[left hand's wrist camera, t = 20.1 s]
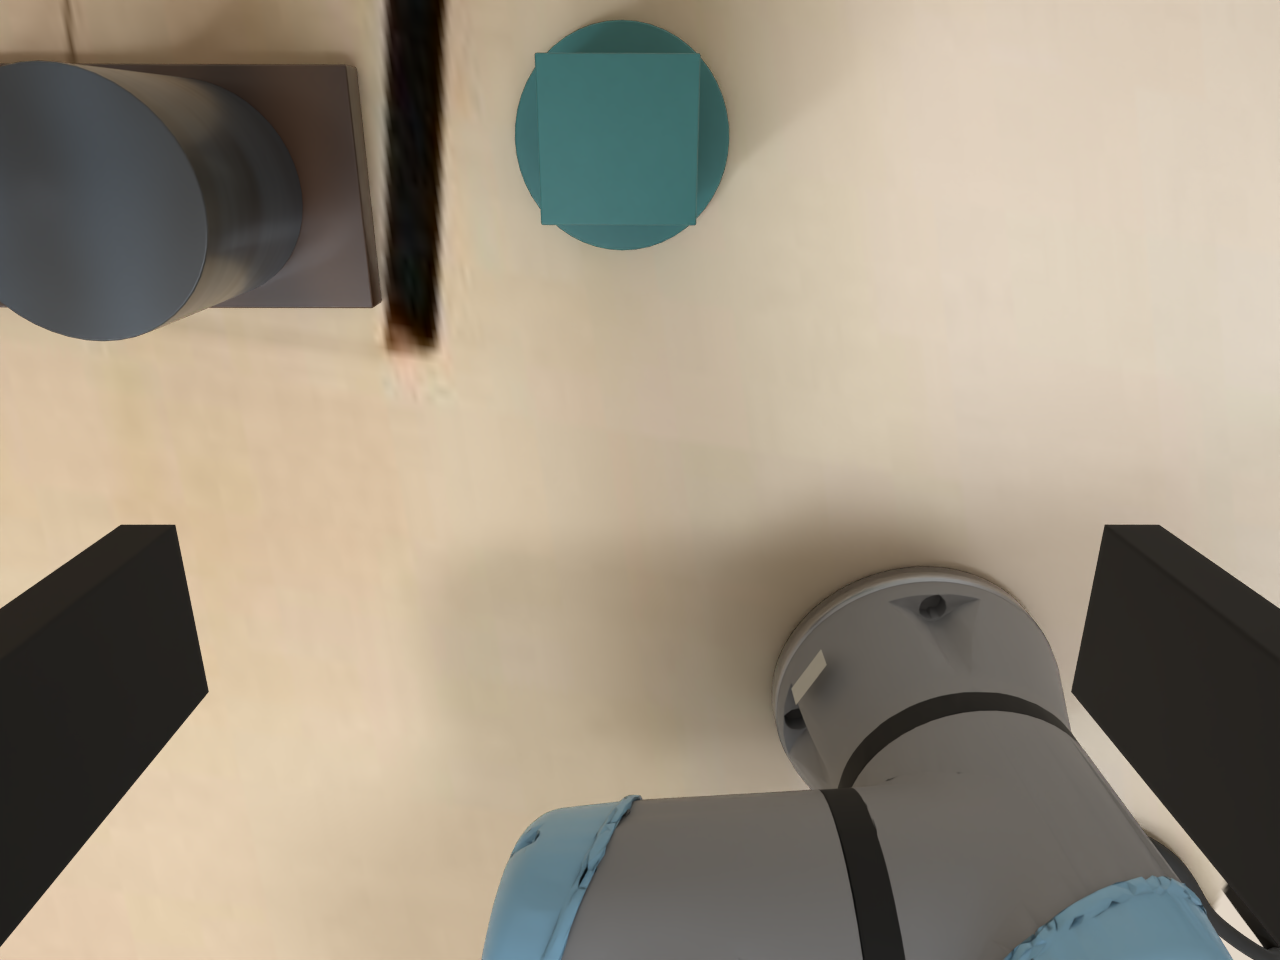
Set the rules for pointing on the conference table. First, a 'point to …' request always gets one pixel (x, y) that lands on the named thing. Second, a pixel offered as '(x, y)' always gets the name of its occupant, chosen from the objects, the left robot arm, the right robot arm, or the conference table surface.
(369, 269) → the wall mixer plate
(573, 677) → the conference table surface
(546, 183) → the cap block
